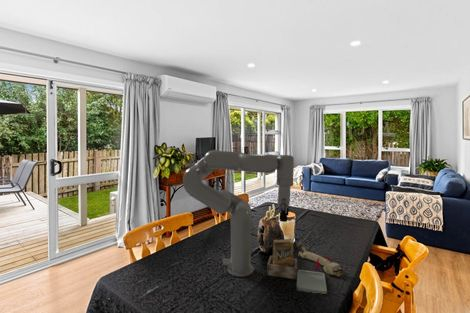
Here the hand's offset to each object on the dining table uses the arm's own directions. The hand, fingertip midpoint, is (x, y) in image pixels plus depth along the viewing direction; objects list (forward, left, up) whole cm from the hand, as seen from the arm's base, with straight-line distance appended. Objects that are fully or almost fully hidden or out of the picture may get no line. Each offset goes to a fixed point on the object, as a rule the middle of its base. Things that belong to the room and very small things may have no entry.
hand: (284, 218), depth 123 cm
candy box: (0, 0, -26) cm, 26 cm away
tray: (+13, -6, -26) cm, 30 cm away
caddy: (0, 0, -26) cm, 26 cm away
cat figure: (+17, +11, -27) cm, 33 cm away
